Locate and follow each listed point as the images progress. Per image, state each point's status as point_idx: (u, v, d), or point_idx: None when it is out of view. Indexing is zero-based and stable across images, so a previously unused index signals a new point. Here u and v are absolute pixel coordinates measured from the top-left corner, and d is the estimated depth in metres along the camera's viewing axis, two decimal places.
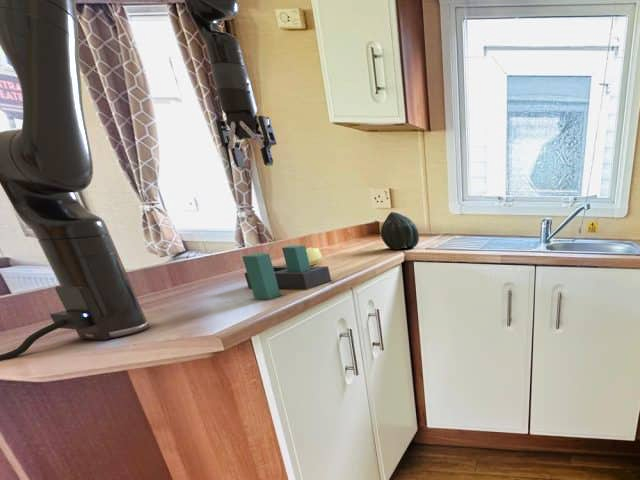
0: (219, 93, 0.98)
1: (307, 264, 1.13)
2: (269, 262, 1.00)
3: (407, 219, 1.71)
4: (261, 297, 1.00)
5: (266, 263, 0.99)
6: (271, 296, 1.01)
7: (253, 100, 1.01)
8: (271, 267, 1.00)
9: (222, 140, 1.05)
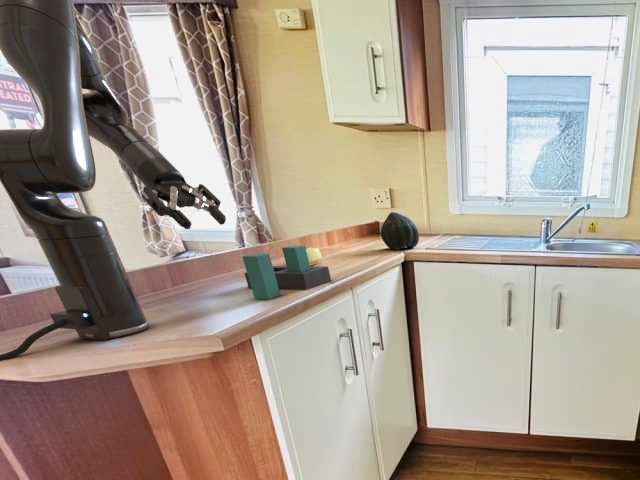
0: (154, 161, 0.93)
1: (307, 264, 1.13)
2: (269, 262, 1.00)
3: (407, 219, 1.71)
4: (261, 297, 1.00)
5: (266, 263, 0.99)
6: (271, 296, 1.01)
7: None
8: (271, 267, 1.00)
9: (159, 202, 0.91)
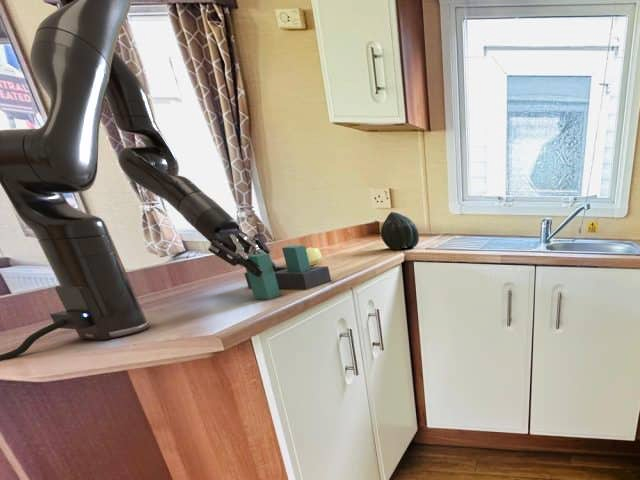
0: (213, 211, 0.94)
1: (307, 264, 1.13)
2: (269, 262, 1.00)
3: (407, 219, 1.71)
4: (261, 297, 1.00)
5: (266, 263, 0.99)
6: (271, 296, 1.01)
7: None
8: (271, 267, 1.00)
9: (232, 253, 0.94)
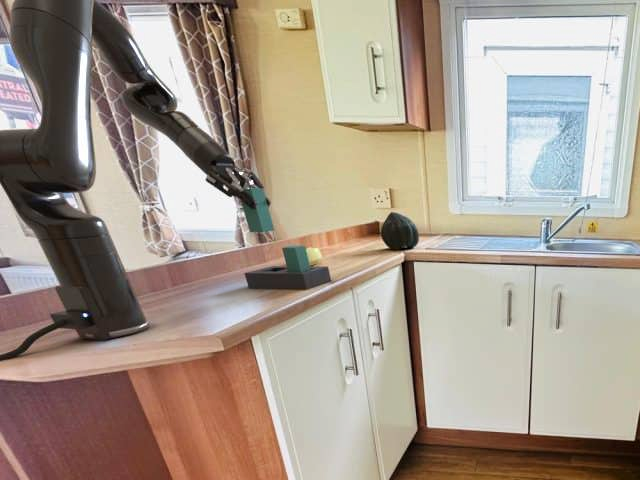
0: (210, 144, 1.00)
1: (307, 264, 1.13)
2: (263, 196, 1.06)
3: (407, 219, 1.71)
4: (256, 230, 1.06)
5: (260, 197, 1.05)
6: (265, 229, 1.07)
7: None
8: (265, 202, 1.06)
9: (228, 184, 1.00)
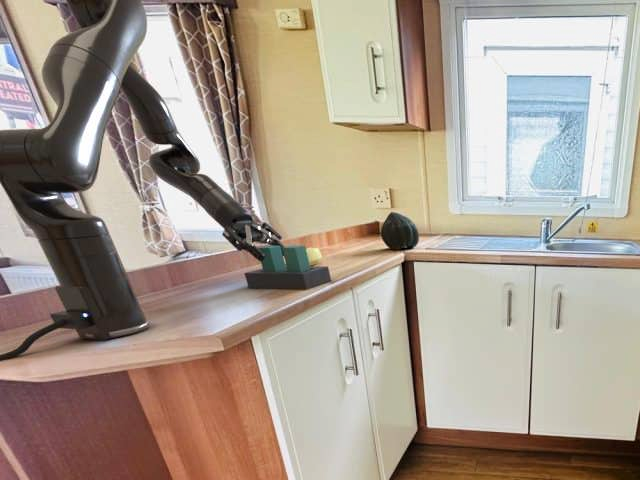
0: (231, 204, 1.08)
1: (307, 264, 1.13)
2: (280, 253, 1.14)
3: (407, 219, 1.71)
4: None
5: (277, 254, 1.13)
6: None
7: None
8: (282, 258, 1.15)
9: (239, 239, 1.06)
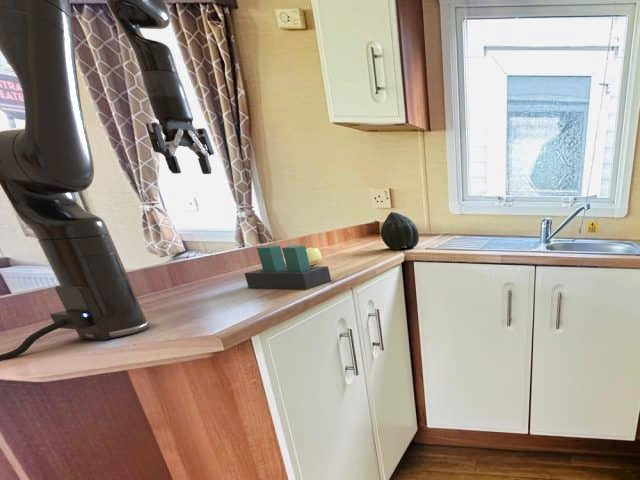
0: (176, 101, 0.98)
1: (307, 264, 1.13)
2: (280, 253, 1.14)
3: (407, 219, 1.71)
4: None
5: (277, 254, 1.13)
6: None
7: None
8: (282, 258, 1.15)
9: (162, 144, 0.98)
